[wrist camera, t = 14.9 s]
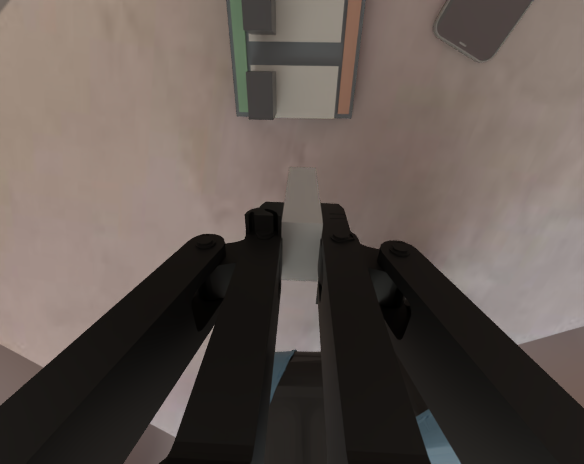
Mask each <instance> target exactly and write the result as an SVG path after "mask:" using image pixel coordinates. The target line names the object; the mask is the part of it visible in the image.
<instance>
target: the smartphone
mask: <svg viewBox="0 0 584 464" xmlns="http://www.w3.org/2000/svg"><path fill="white" fill-rule="evenodd" d="M533 1H534V0H447V1H446V3H445V4H444V6H443V8H442V10H441V11H440V13H439V15H438V16H437V18H436V20H435V22H434V26H433V32H434V34H435V36H436V37H437V38H439V39H440V40H442V41H443V42H445V43H447V44H448V45H450V46H451V47H453V48H455V49H456V50H458V51H459V52H461V53H463V54H464V55H466V56H468V57H469V58H471V59H472V60H474V61H476V62H487V61H489V60H490V59H492V58H493V57H494V56H495V54H496V53H497V52H498V50H499V49H500V47H501V46H502V45H503V43H504V42H505V40H506V39H507V38H508V36H509V35H510V33H511V32H512V31H513V29H514V28H515V26H516V25H517V23H518V22H519V21H520V19H521V18H522V16H523V15H524V14H525V12H526V11H527V9H528V8H529V7H530V5H531V4H532V2H533Z"/></svg>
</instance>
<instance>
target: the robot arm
mask: <svg viewBox="0 0 584 464" xmlns="http://www.w3.org/2000/svg"><path fill="white" fill-rule="evenodd" d="M245 224H246V236H245V239H244V240H241V241H238V242H234V243H227V244H225V242H224V239H223V238H222V237H221V236H219V235H216V234H202V235H199V236H196V237H194V238H192V239H191V240H189V241H188V242H187V243H186V244H185V245H183V246H182V247H181V248H180V249H179V250H178V251H177V252H175V253H174V254H173V255H172V256H171V257H170V258H169V259H167V260H166V261H165V262H164V263H163V264H162V265H161V266H159V267H158V268H157V269H156V270H155V271H154V272H153V273H151V274H150V275H149V276H148V277H147V278H146V279H145V280H143V281H142V282H141V283H140V284H139V285H138V286H137V287H135V288H134V289H133V290H132V291H131V292H130V293H129V294H127V295H126V296H125V297H124V298H123V299H122V300H121V301H119V302H118V303H117V304H116V305H115V306H114V307H113V308H111V309H110V310H109V311H108V312H107V313H106V314H105V315H103V316H102V317H101V318H100V319H99V320H98V321H97V322H95V323H94V324H93V325H92V326H91V327H90V328H89V329H87V330H86V331H85V332H84V333H83V334H82V335H81V336H79V337H78V338H77V339H76V340H75V341H74V342H73V343H71V344H70V345H69V346H68V347H67V348H66V349H65V350H63V351H62V352H61V353H60V354H59V355H58V356H57V357H55V358H54V359H53V360H52V361H51V362H50V363H49V364H47V365H46V366H45V367H44V368H43V369H42V370H41V371H39V372H38V373H37V374H36V375H35V376H34V377H33V378H31V379H30V380H29V381H28V382H27V383H26V384H25V385H23V386H22V387H21V388H20V389H19V390H18V391H17V392H15V394H13V395H12V396H11V397H10V398H9V399H7V400H6V401H5V402H4V403H3V404H2V405H1V406H0V464H123V463H124V462H125V460H126V459H127V457H128V456H129V454H130V452H131V451H132V449H133V448H134V446H135V445H136V443H137V442H138V440H139V439H140V437H141V436H142V434H143V433H144V431H145V430H146V428H147V427H148V425H149V424H150V422H151V421H152V419H153V418H154V416H155V414H156V413H157V411H158V410H159V408H160V407H161V405H162V404H163V402H164V401H165V399H166V398H167V396H168V395H169V393H170V392H171V390H172V389H173V387H174V386H175V384H176V383H177V381H178V380H179V378H180V376H181V375H182V373H183V372H184V370H185V369H186V367H187V366H188V364H189V363H190V361H191V360H192V358H193V357H194V355H195V354H196V352H197V351H198V349H199V348H200V346H201V345H202V343H203V342H204V340H205V338H206V337H207V335H208V334H209V332H210V331H211V329H212V328H213V326H214V325H215V326H214V329H213V332H212V334H211V337H210V340H209V343H208V346H207V349H206V352H205V355H204V358H203V360H202V363H201V366H200V369H199V372H198V375H197V378H196V381H195V384H194V386H193V389H192V392H191V395H190V398H189V401H188V404H187V407H186V410H185V412H184V415H183V418H182V421H181V424H180V427H179V430H178V433H177V436H176V438H175V441H174V444H173V446H172V449H171V451H170V453H169V454H168V456H167V457H166V458H165V459H164V460H163V461H161V462H160V463H159V464H584V408H583V407H582V406H581V405H580V404H579V403H577V401H576V400H574V399H573V398H572V397H571V396H570V395H569V394H568V393H567V392H566V391H565V390H564V389H563V388H562V387H561V386H560V385H559V384H558V383H557V382H556V381H555V380H553V379H552V378H551V377H550V376H549V375H548V374H547V373H546V372H545V371H544V370H543V369H542V368H541V367H540V366H539V365H538V364H537V363H535V362H534V361H533V359H531V358H530V357H529V356H528V355H527V354H526V353H525V352H524V351H523V350H522V349H521V348H520V347H519V346H518V345H517V344H516V343H515V342H514V341H513V340H512V339H510V338H509V337H508V336H507V335H506V334H505V333H504V332H503V331H502V330H501V329H500V328H499V327H498V326H497V325H496V324H495V323H494V322H493V321H492V320H491V319H490V318H488V317H487V316H486V315H485V314H484V313H483V312H482V311H481V310H480V309H479V308H478V307H477V306H476V305H475V304H474V303H473V302H472V301H471V300H470V299H469V298H468V297H466V296H465V295H464V294H463V293H462V292H461V291H460V290H459V289H458V288H457V287H456V286H455V285H454V284H453V283H452V282H451V281H450V280H449V279H448V278H447V277H445V276H444V275H443V274H442V273H441V272H440V271H439V270H438V269H437V268H436V267H435V266H434V265H433V264H432V263H431V262H430V261H429V260H428V259H427V258H426V257H425V256H423V255H422V254H421V253H420V252H419V251H418V250H417V249H416V248H415V247H413V246H412V245H410V244H407V243H405V242H402V241H386V242H384V243H382V244H381V246H380V250H379V249H375V248H371V247H367V246H364V245H362V244H360V243H359V240H358V238H357V236H356V235H355V234H353V233H352V232H350V228H349V225H348V221H347V218H346V215H345V211H344V208H342V207H341V206H340V205H339V204H328V203H320V196H319V189H318V181H317V173H316V168H308V167H289V174H288V181H287V188H286V195H285V202H284V203H283V202H265V203H264V204H262V205H261V206H260V208H255V209H251V210H249V211H247V213H246V214H245ZM281 280H296V281H317V280H318V288H317V298H316V304H318V310H319V327H320V344H321V352H297V350H292V351H286V352H275V344H276V334H277V324H278V314H279V304H280V294H281Z"/></svg>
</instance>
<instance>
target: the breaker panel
mask: <svg viewBox="0 0 584 464" xmlns="http://www.w3.org/2000/svg"><path fill="white" fill-rule="evenodd" d="M365 1H366V0H275V2H276V35H251V34H249V33H248V32H246V31H244V30H243V17H242V2H241V0H226V2H227V13H228V25H229V36H230V47H231V58H232V69H233V80H234V91H235V103H236V114H237V116H246V117H249V114H248V100H247V85H246V72H247V71H276V96H277V114H276V116H275V118H311V119H334V118H350V119H351V117H352V109H353V100H354V92H355V84H356V75H357V67H358V59H359V50H360V42H361V34H362V25H363V17H364V9H365Z"/></svg>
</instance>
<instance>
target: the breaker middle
mask: <svg viewBox="0 0 584 464" xmlns="http://www.w3.org/2000/svg"><path fill="white" fill-rule="evenodd" d="M241 2H242V17H243V30H244V31H246V32H248V33H249V34H251V35H276V2H275V0H241Z"/></svg>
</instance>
